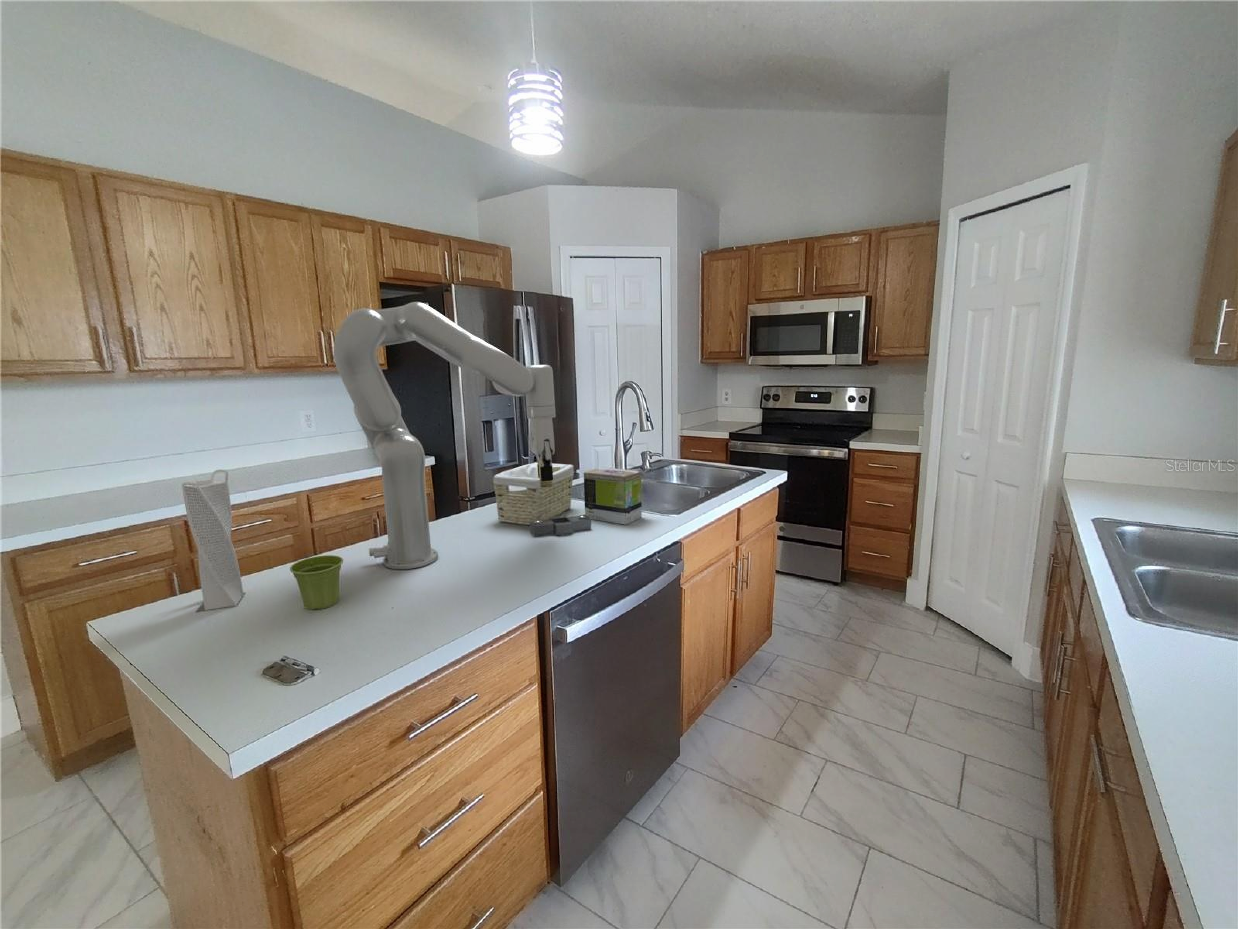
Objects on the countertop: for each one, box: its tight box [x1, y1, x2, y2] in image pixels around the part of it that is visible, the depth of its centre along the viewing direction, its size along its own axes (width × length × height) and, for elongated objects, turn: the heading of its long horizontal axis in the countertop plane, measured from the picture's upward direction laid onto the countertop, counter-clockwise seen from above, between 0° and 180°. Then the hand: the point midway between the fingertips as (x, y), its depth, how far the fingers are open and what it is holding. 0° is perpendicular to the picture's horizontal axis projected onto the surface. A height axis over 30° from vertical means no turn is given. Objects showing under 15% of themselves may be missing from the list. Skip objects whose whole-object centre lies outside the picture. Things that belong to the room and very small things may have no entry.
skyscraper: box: [181, 469, 246, 613], centre depth 111 cm, size 8×8×28 cm
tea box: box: [583, 466, 643, 525], centre depth 167 cm, size 15×10×15 cm, turn 58°
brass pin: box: [538, 457, 552, 487], centre depth 150 cm, size 3×3×8 cm
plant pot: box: [289, 554, 344, 611], centre depth 112 cm, size 9×9×9 cm
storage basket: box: [492, 462, 575, 526], centre depth 172 cm, size 24×16×15 cm
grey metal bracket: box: [529, 514, 592, 537], centre depth 157 cm, size 17×9×4 cm, turn 110°
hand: (545, 478), depth 150 cm, fingers closed on brass pin, 3 cm apart
